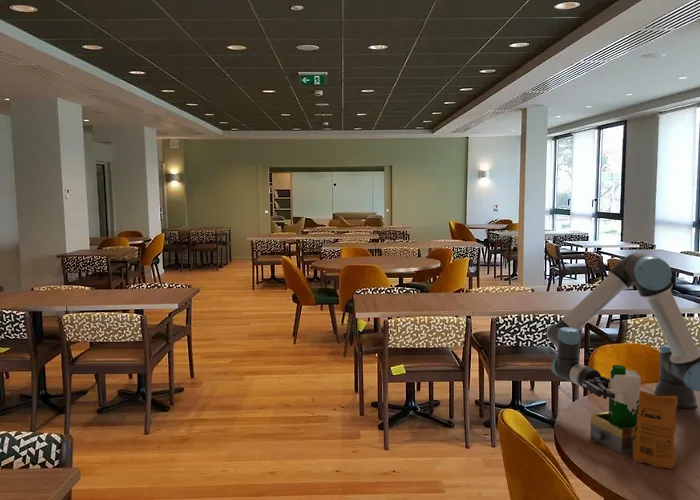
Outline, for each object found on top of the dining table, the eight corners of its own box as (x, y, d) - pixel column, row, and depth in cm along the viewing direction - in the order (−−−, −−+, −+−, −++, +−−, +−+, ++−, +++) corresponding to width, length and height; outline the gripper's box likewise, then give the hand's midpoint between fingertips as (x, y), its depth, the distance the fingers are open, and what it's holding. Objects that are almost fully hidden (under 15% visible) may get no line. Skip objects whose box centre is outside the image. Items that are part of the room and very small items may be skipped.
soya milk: (605, 418, 206) (608, 362, 204) (633, 420, 204) (636, 364, 202) (611, 428, 198) (614, 370, 196) (640, 431, 196) (644, 371, 194)
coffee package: (634, 450, 195) (637, 385, 193) (677, 459, 188) (680, 392, 186) (629, 462, 187) (632, 394, 185) (674, 472, 180) (677, 401, 178)
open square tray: (622, 431, 211) (623, 409, 210) (654, 447, 197) (655, 423, 197) (583, 438, 205) (584, 415, 204) (614, 455, 192) (614, 431, 191)
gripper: (608, 383, 221) (659, 404, 199) (561, 390, 214) (608, 413, 192) (609, 364, 220) (660, 382, 199) (562, 370, 213) (609, 390, 192)
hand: (634, 397), depth 195 cm, fingers closed on soya milk, 8 cm apart
